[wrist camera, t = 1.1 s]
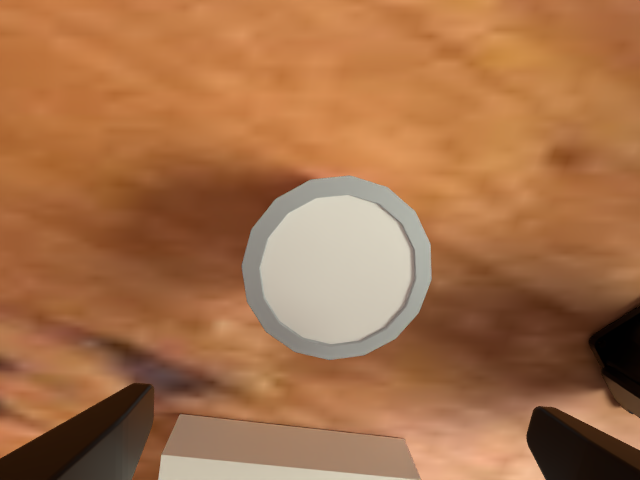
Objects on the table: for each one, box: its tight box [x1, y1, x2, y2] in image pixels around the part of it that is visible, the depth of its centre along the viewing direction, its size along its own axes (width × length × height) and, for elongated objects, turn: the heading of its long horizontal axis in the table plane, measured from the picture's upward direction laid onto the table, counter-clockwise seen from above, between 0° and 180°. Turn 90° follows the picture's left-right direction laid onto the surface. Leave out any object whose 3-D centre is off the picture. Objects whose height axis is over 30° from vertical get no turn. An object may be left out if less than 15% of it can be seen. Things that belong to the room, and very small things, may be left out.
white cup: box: [242, 176, 432, 360], centre depth 16 cm, size 7×7×7 cm
